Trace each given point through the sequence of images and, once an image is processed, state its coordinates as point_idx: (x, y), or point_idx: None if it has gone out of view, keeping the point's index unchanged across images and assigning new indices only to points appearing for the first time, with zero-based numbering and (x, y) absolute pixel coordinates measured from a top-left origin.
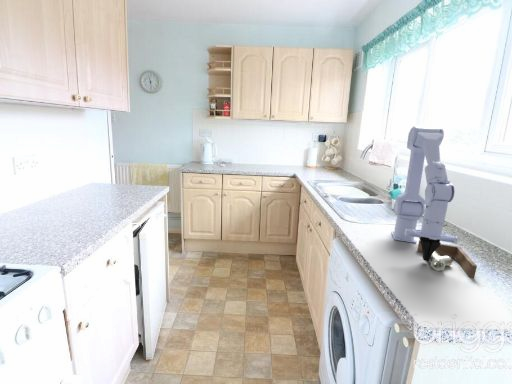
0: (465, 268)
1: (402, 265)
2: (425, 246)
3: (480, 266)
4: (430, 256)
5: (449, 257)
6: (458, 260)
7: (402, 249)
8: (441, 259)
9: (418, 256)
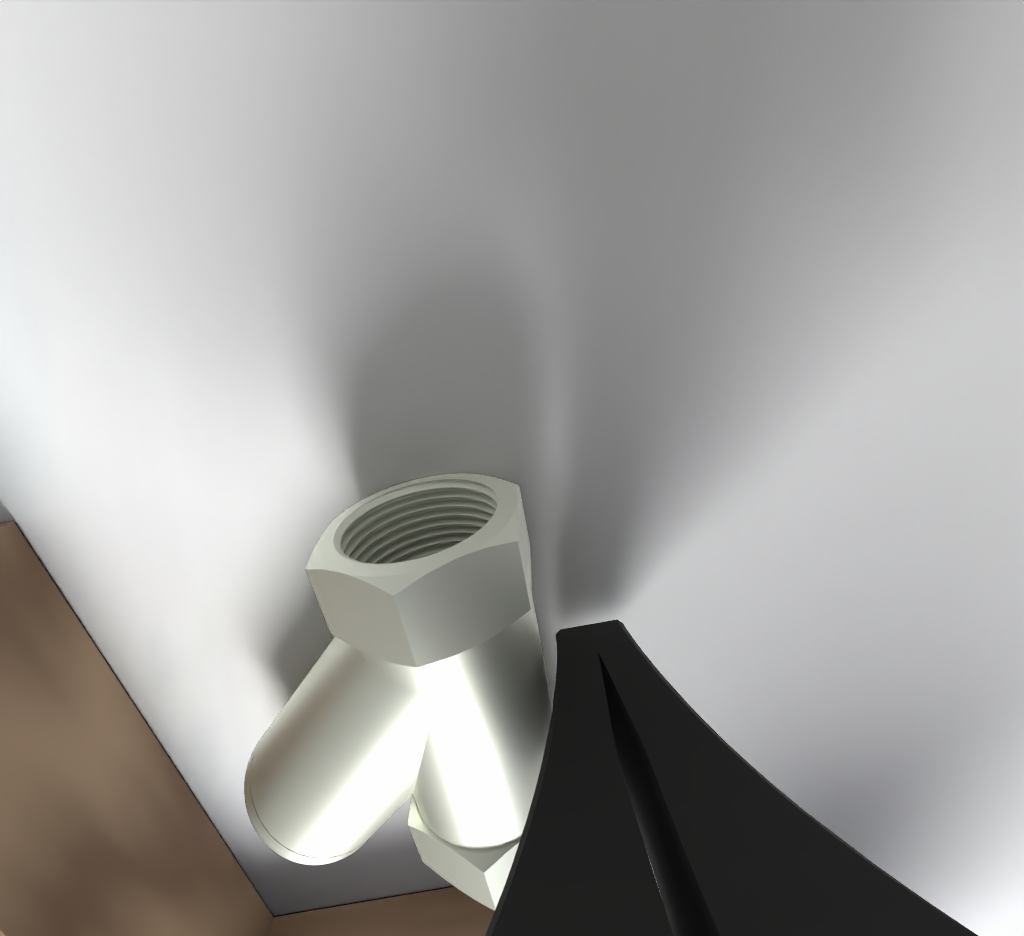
0: (77, 705)
1: (927, 346)
2: (816, 878)
3: None
4: (562, 691)
5: (271, 835)
6: (212, 874)
7: None
8: (377, 687)
9: None
